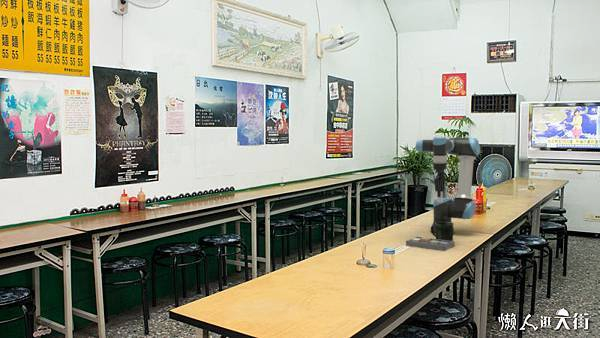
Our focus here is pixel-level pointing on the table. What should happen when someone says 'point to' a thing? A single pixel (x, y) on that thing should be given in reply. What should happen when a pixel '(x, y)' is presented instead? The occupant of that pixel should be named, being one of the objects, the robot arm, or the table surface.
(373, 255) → the table surface
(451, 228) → the mug
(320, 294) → the table surface
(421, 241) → the block
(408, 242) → the grey compartment rack
